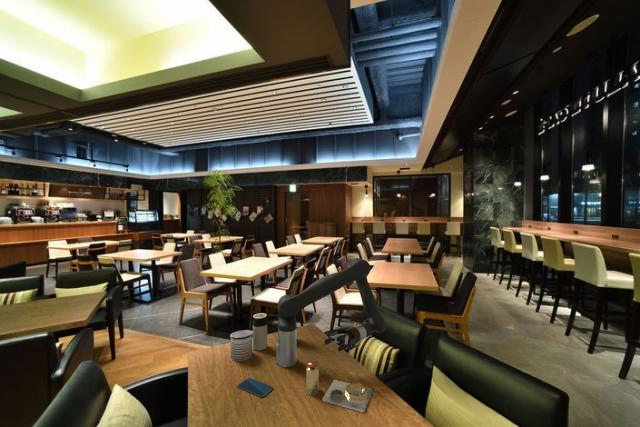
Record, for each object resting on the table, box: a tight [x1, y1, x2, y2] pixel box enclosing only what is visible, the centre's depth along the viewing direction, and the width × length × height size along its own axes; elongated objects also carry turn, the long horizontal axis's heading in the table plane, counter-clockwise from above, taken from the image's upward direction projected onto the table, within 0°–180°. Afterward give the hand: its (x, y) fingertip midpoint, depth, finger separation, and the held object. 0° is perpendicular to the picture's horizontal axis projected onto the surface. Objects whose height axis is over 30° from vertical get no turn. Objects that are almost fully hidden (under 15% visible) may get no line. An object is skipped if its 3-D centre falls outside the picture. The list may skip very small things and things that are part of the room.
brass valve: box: [305, 359, 320, 397], centre depth 116 cm, size 5×5×12 cm
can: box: [229, 329, 253, 362], centre depth 146 cm, size 11×11×12 cm
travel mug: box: [252, 312, 268, 352], centre depth 154 cm, size 8×8×18 cm
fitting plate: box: [321, 379, 373, 414], centre depth 113 cm, size 17×14×2 cm
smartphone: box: [236, 377, 274, 399], centre depth 118 cm, size 8×15×1 cm, turn 60°
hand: (331, 345), depth 123 cm, fingers open, 8 cm apart
